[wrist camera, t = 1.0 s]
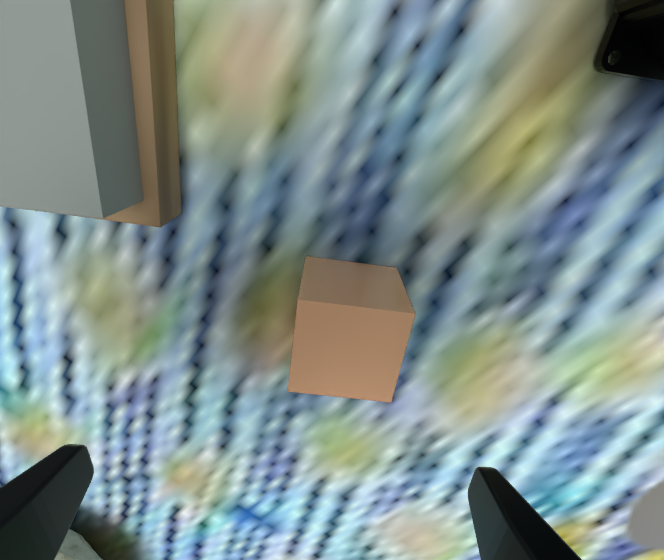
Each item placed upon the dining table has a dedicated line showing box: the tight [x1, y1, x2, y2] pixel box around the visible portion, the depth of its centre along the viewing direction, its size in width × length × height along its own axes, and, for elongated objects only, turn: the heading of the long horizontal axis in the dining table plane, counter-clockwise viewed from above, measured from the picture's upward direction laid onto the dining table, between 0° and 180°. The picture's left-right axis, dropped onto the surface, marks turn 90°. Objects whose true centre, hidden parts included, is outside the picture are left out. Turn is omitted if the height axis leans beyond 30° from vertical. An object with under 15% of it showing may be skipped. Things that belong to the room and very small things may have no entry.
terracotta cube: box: [288, 256, 415, 402], centre depth 18 cm, size 5×5×5 cm
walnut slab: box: [66, 0, 182, 227], centre depth 15 cm, size 10×10×3 cm
